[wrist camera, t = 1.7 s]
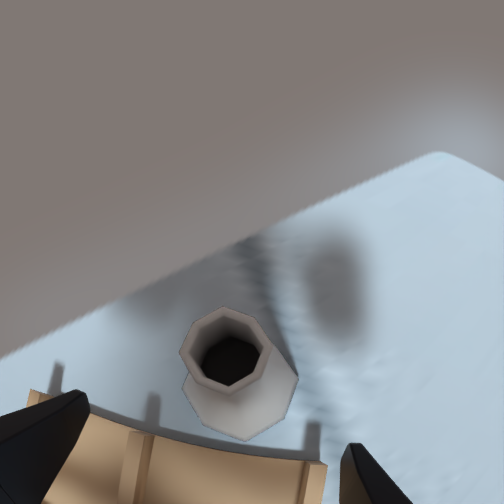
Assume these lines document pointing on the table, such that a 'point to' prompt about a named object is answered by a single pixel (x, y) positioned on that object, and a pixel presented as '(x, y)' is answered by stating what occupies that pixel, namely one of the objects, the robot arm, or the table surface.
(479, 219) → the table surface
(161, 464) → the rack
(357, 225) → the table surface
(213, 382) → the flask
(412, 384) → the table surface
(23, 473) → the robot arm
